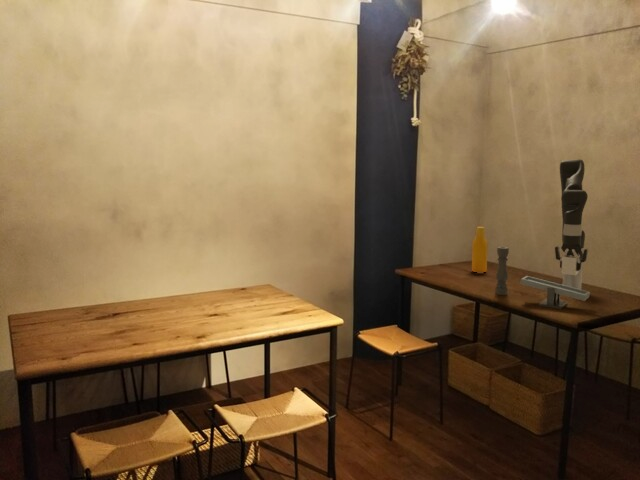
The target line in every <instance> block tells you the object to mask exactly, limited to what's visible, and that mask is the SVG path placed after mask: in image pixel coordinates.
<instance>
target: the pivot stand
mask: <svg viewBox="0 0 640 480" xmlns="http://www.w3.org/2000/svg"><path fill="white" fill-rule="evenodd" d="M554 291H555V289H552V288H548V289H547V291H546V292H547V293H546V297H545V298H544V299H543V300H541V301H540V302H539V303H538V306H540V307H545V308H552V309H558V310H561V309H563V308H564V307H565V306H566V305H567V304H568V301H567V300H566V301H565V300H562V299H560V297H561V295H560V294H556V293H554Z"/></svg>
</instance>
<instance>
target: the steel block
mask: <svg viewBox="0 0 640 480" xmlns="http://www.w3.org/2000/svg"><path fill="white" fill-rule="evenodd" d="M561 257H562V256H561ZM577 263H578V262H577V257H575V256H567V255H566V256H563V257H562V269H561V274H562V275H563V274H568V275H577V274H578V273H579V271H577Z"/></svg>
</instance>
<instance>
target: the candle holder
mask: <svg viewBox="0 0 640 480" xmlns="http://www.w3.org/2000/svg"><path fill="white" fill-rule="evenodd" d="M496 250H497V251H496V252H497V256H498V257H497V259H496V261H498V267H497V271H496V275H495V279H496V280H497V283H496V284H495V288H494V290H495V292H494V293H495V294H494V295H498V296H507V295H508V284H507V280H508V278H509V275H508V270H507V262H508V261H509V258H507V257H508V256H509V253H510V252H509V251H510V249H509V247H508V246H507V247H506V246H497V248H496Z"/></svg>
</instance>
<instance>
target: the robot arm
mask: <svg viewBox="0 0 640 480" xmlns="http://www.w3.org/2000/svg"><path fill="white" fill-rule="evenodd" d="M584 176H585V163H584V161H583V159H581V158H580V159H577V158H576V159H565V160H561V161H560V163H559V177H560V188H561V197H560V198H561V213H562V214H561V215H562V235H561V240H562V245H561V246H560V245H559V246H558V245H557V246H555V247H554V253H555V259H556V260H558V261H559V269H561V270H562V257H563V256H566V255H567V256H575V257H577V262H578V263H577V271H579V273H578V274H577V275H568V274H562V285H565V286H569V287H573V288H577V289H581V290H582V282H583V281H582V278H583V277H582V276H583V263H585V262H586V261H587V257H588V253H589V248H585V239H586V233H585V230H583V228H582V222H583V221H582V217H583V212H584V208H585V206H586V203H587V201H588V198H589V197H588V192H587V191H586V190H583V180H584ZM561 251H562V252H563V254H562V255H560V254H561V253H560V252H561Z"/></svg>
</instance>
